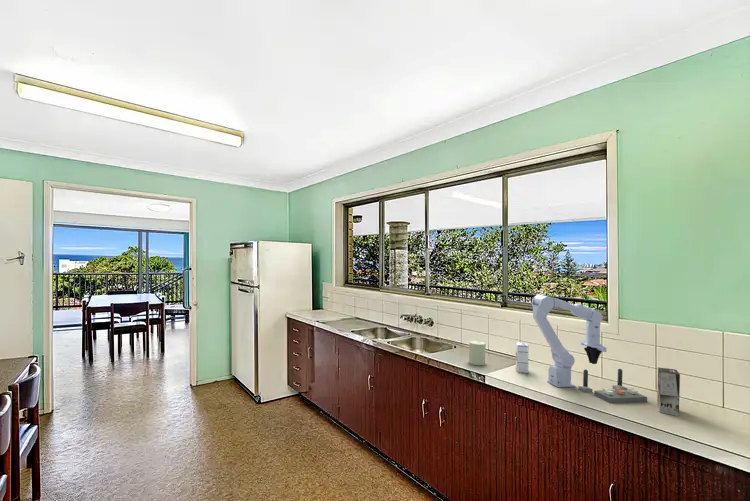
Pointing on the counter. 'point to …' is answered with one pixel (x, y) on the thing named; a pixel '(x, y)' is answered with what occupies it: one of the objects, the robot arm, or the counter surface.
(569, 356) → the robot arm
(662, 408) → the coffee box
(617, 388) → the middle paddle
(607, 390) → the left paddle
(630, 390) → the right paddle
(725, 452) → the counter surface
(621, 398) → the switch panel
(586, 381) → the grey peg stand
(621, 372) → the grey post with base
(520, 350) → the syrup box
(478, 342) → the can
